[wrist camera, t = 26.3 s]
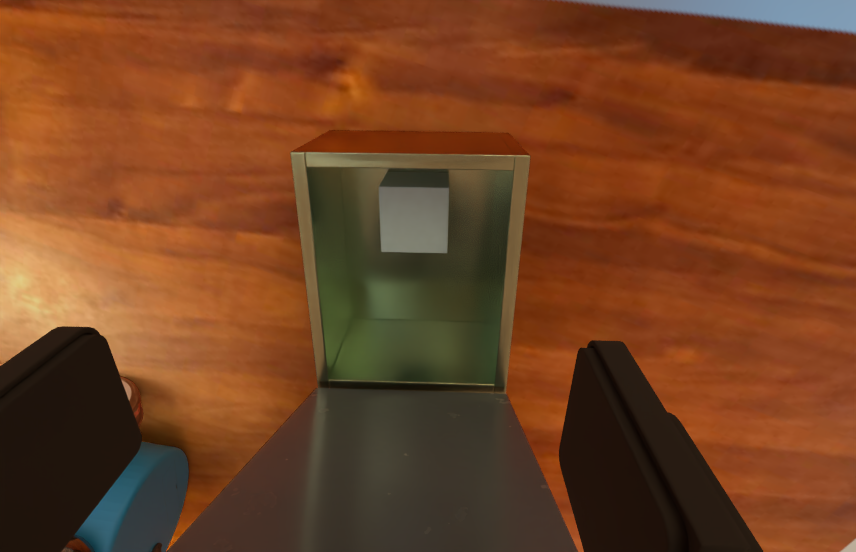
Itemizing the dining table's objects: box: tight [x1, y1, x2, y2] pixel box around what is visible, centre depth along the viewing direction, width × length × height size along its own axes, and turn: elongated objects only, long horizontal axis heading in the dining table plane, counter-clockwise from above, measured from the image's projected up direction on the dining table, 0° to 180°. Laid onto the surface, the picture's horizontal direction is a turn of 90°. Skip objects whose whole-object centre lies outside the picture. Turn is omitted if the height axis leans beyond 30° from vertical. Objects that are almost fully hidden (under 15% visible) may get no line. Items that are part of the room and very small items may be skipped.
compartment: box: [290, 130, 530, 394], centre depth 31 cm, size 16×13×9 cm
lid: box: [167, 388, 578, 552], centre depth 22 cm, size 16×13×5 cm
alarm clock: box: [62, 442, 189, 552], centre depth 39 cm, size 13×6×15 cm, turn 169°
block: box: [379, 172, 449, 253], centre depth 31 cm, size 4×4×4 cm
